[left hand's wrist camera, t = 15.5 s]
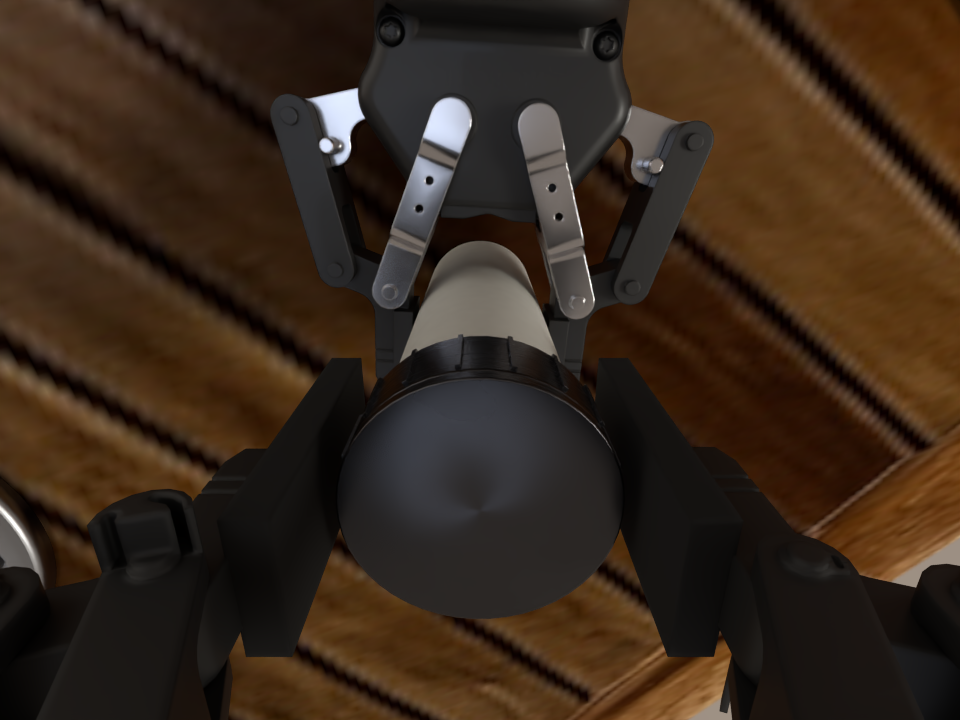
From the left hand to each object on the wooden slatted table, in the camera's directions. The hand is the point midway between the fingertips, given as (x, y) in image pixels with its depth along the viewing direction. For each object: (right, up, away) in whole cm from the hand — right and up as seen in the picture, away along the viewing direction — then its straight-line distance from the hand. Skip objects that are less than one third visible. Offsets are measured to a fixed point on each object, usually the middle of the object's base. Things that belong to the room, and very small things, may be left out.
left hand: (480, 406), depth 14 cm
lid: (0, -1, -4) cm, 4 cm away
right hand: (0, 0, +7) cm, 7 cm away
